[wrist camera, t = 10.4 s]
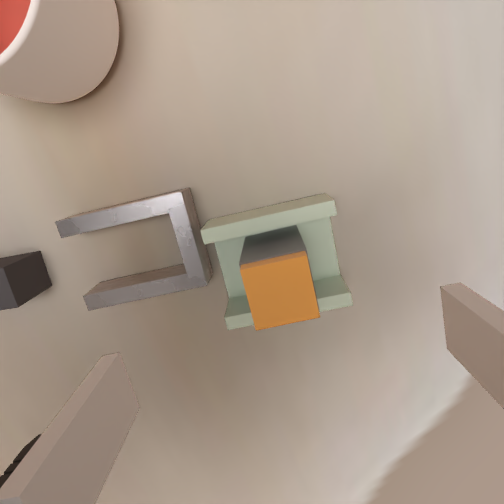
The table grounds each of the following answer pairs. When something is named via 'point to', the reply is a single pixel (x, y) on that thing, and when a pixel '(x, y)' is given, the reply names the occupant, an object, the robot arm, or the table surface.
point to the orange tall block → (278, 278)
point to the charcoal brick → (22, 279)
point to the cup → (56, 47)
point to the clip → (156, 281)
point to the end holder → (272, 218)
